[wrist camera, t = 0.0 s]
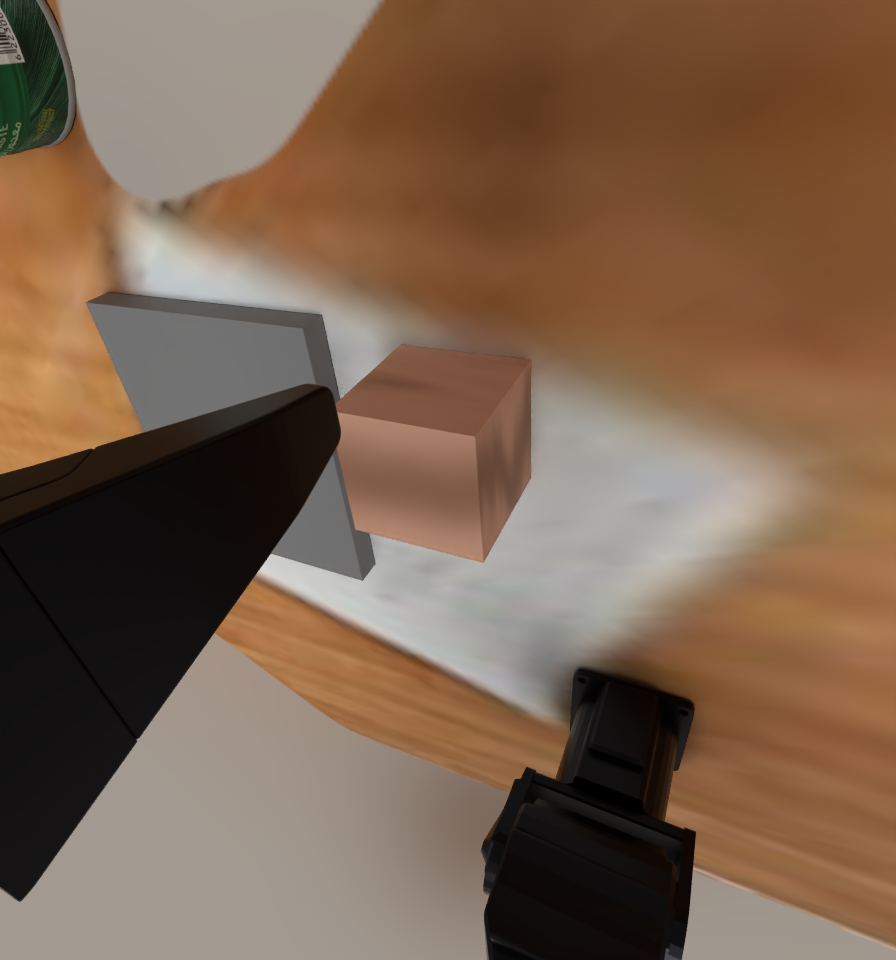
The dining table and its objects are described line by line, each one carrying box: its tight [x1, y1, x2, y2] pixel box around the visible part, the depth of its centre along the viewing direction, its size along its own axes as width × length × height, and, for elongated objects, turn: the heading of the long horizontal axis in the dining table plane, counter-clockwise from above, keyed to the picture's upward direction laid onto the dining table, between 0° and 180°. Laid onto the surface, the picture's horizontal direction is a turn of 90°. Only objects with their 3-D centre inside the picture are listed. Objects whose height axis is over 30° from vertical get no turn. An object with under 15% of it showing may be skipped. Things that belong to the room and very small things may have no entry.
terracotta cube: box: [336, 344, 531, 563], centre depth 26 cm, size 6×6×6 cm
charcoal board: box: [86, 292, 375, 581], centre depth 35 cm, size 16×14×2 cm
